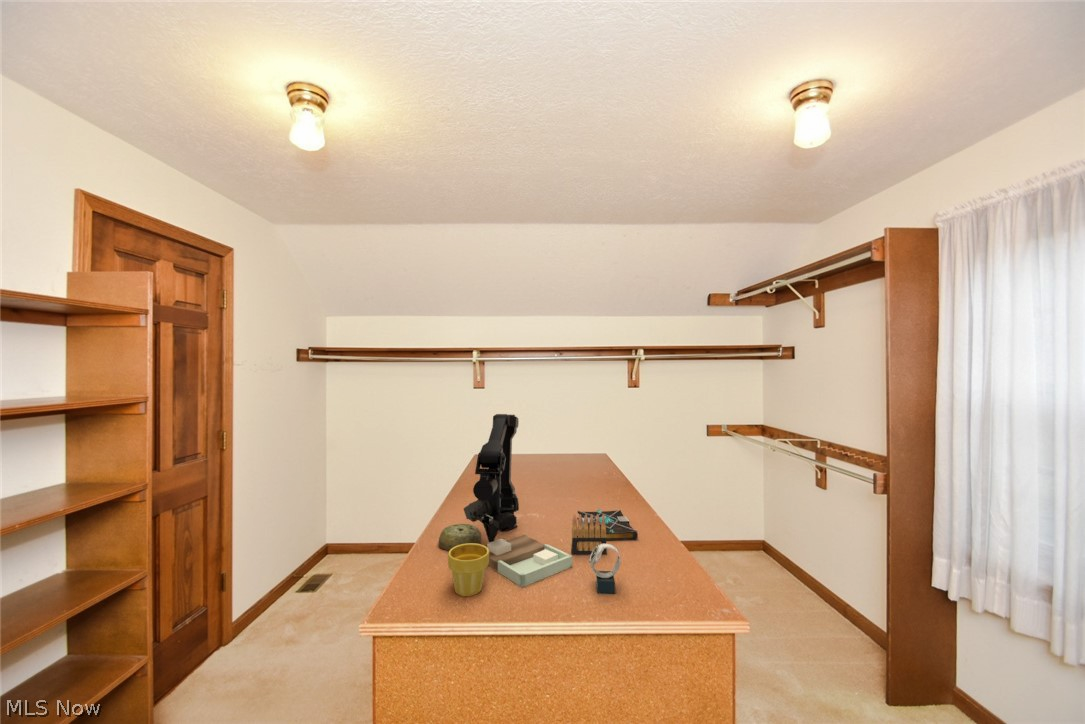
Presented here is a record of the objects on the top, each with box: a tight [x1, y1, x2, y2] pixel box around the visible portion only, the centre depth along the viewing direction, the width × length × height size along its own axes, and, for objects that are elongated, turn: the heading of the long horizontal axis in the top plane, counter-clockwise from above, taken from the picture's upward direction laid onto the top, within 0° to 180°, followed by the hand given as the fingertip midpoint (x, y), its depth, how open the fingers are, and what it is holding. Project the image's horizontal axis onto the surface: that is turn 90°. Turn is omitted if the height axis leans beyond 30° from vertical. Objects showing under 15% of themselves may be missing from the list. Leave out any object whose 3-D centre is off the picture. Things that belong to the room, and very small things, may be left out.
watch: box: [588, 543, 622, 595], centre depth 112 cm, size 6×8×11 cm
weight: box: [438, 523, 483, 551], centre depth 140 cm, size 14×13×5 cm
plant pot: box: [447, 543, 489, 597], centre depth 111 cm, size 10×10×10 cm
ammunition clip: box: [570, 513, 608, 556], centre depth 133 cm, size 11×2×12 cm, turn 91°
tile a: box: [534, 549, 558, 565], centre depth 126 cm, size 5×5×2 cm
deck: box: [487, 534, 545, 573], centre depth 130 cm, size 11×18×2 cm, turn 130°
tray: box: [497, 543, 573, 588], centre depth 122 cm, size 11×18×3 cm, turn 130°
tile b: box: [486, 538, 511, 555], centre depth 129 cm, size 5×5×2 cm
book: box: [576, 508, 639, 541], centre depth 153 cm, size 22×17×5 cm
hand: (491, 542), depth 132 cm, fingers closed
